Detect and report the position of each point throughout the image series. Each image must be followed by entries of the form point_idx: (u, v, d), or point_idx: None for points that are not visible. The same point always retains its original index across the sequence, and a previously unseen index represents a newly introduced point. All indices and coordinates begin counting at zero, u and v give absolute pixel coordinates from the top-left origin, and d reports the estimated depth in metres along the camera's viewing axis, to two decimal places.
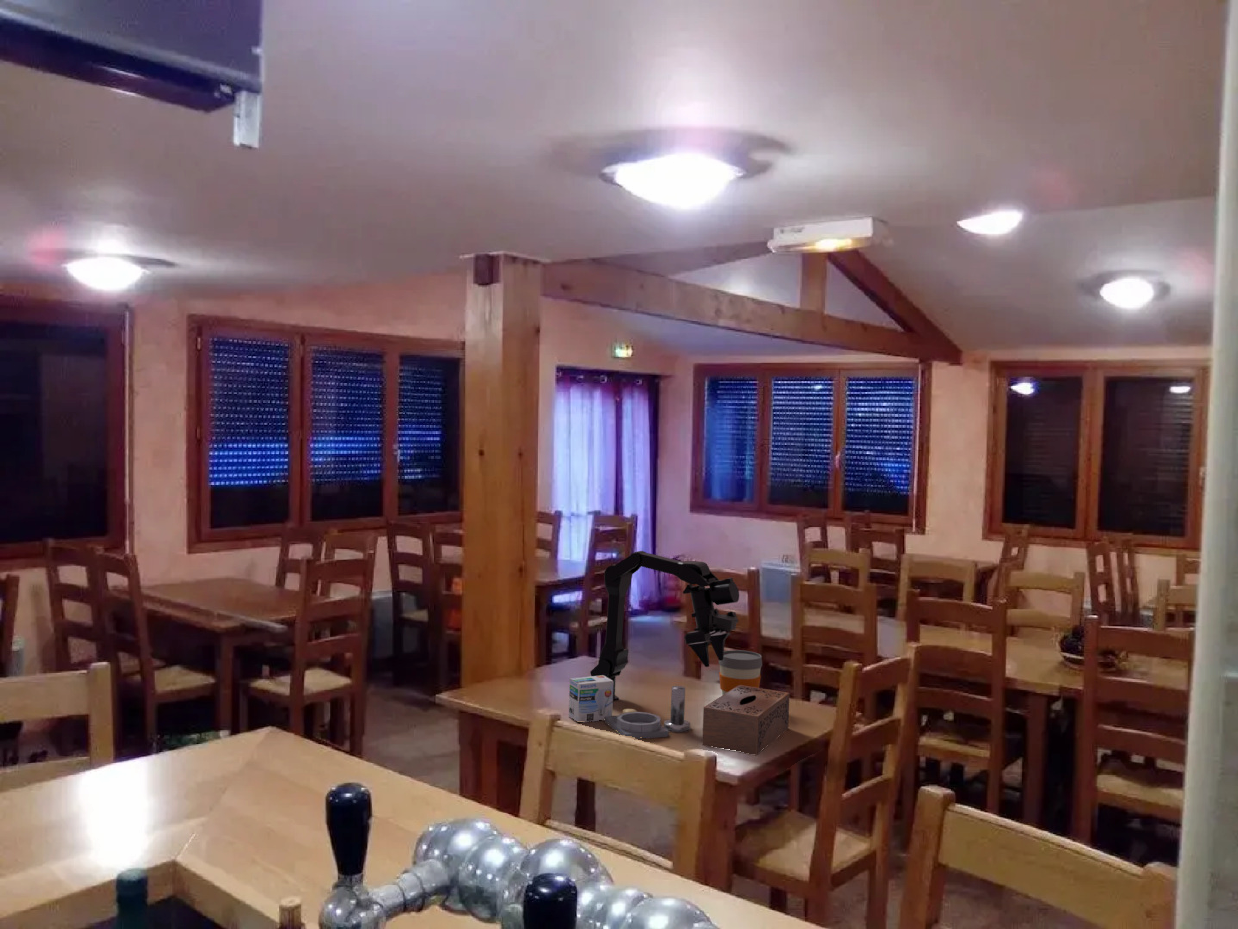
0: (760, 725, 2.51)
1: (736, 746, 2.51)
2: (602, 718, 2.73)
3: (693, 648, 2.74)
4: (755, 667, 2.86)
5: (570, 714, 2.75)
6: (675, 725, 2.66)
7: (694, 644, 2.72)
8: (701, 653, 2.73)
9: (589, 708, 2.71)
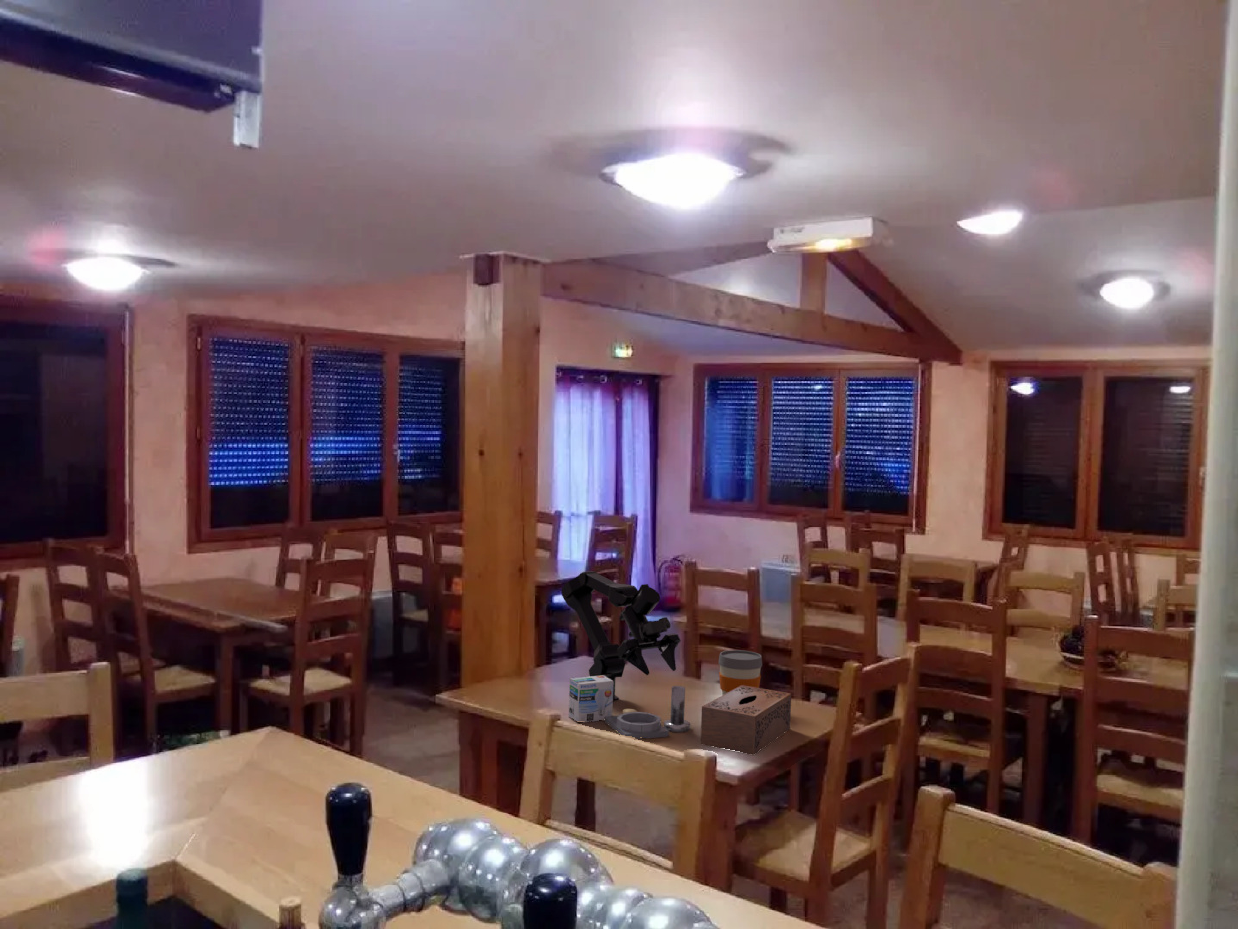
0: (758, 725, 2.51)
1: (733, 746, 2.52)
2: (602, 718, 2.73)
3: (630, 661, 2.75)
4: (755, 667, 2.86)
5: (570, 714, 2.75)
6: (675, 725, 2.66)
7: (626, 656, 2.74)
8: (638, 663, 2.73)
9: (589, 708, 2.71)
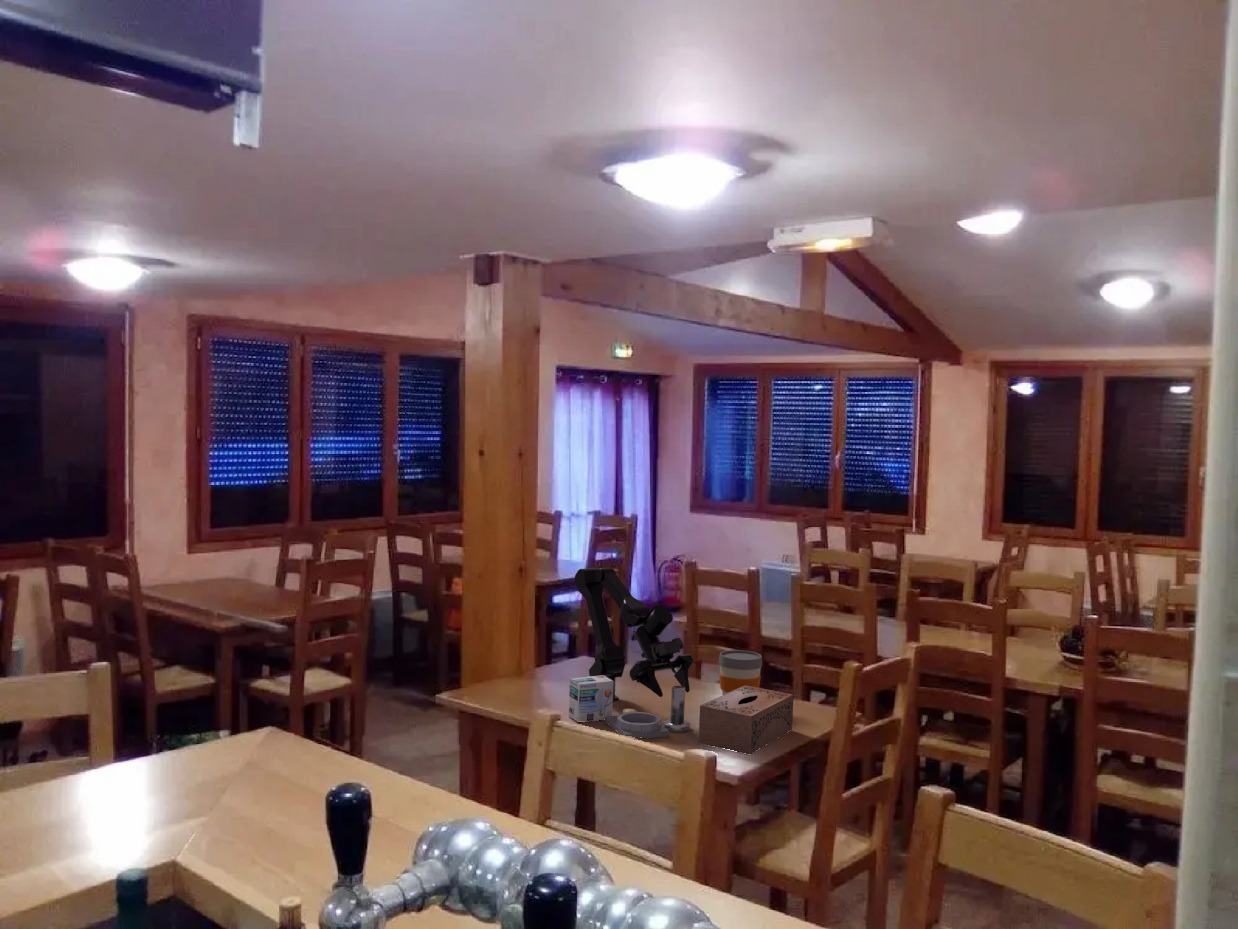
0: (754, 725, 2.51)
1: (730, 745, 2.52)
2: (602, 718, 2.73)
3: (643, 683, 2.70)
4: (755, 667, 2.86)
5: (570, 714, 2.75)
6: (675, 725, 2.66)
7: (639, 677, 2.69)
8: (651, 685, 2.68)
9: (589, 708, 2.71)
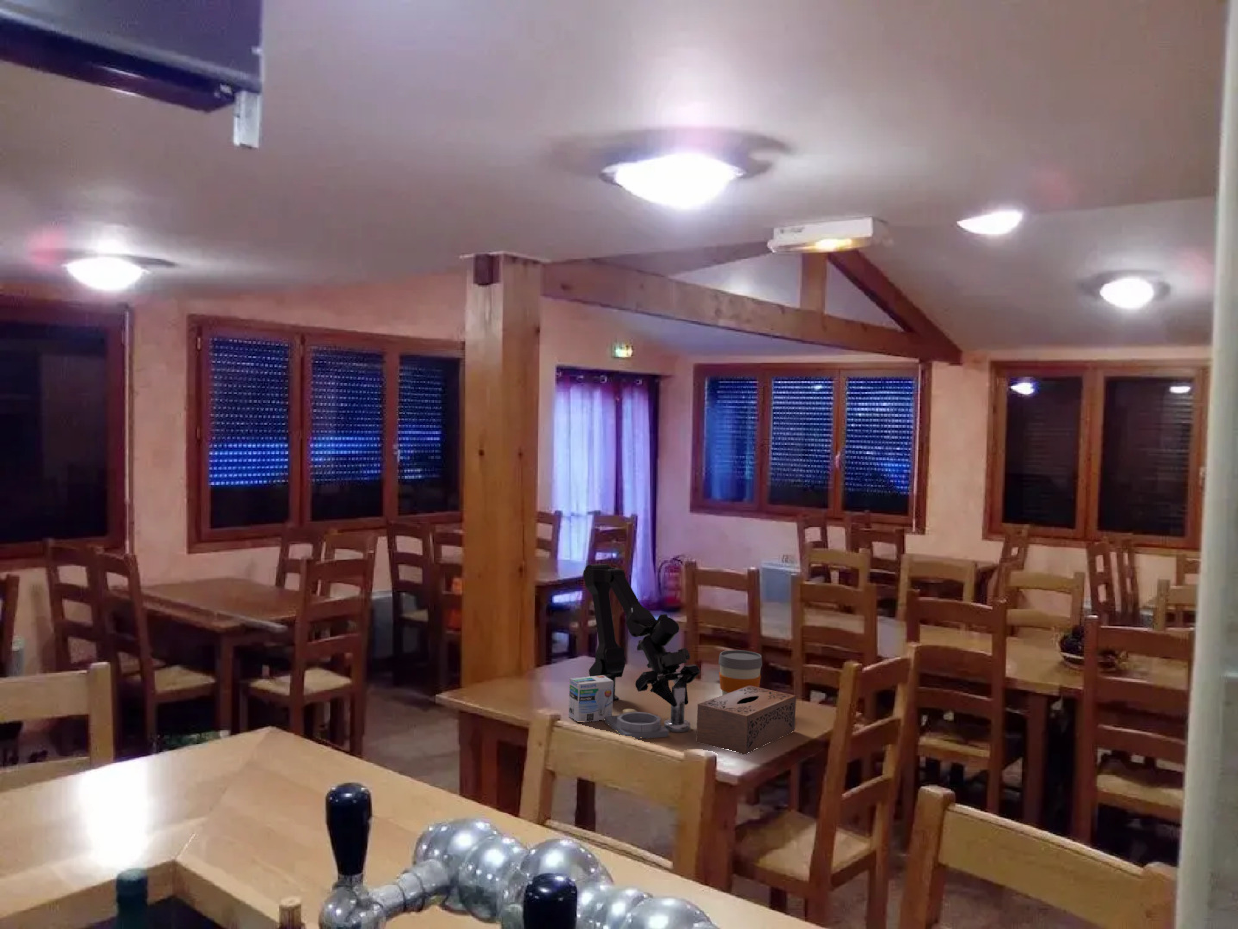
0: (750, 725, 2.51)
1: (726, 745, 2.52)
2: (602, 718, 2.73)
3: (657, 693, 2.69)
4: (755, 667, 2.86)
5: (570, 714, 2.75)
6: (675, 725, 2.66)
7: (653, 687, 2.68)
8: (664, 695, 2.68)
9: (589, 708, 2.71)
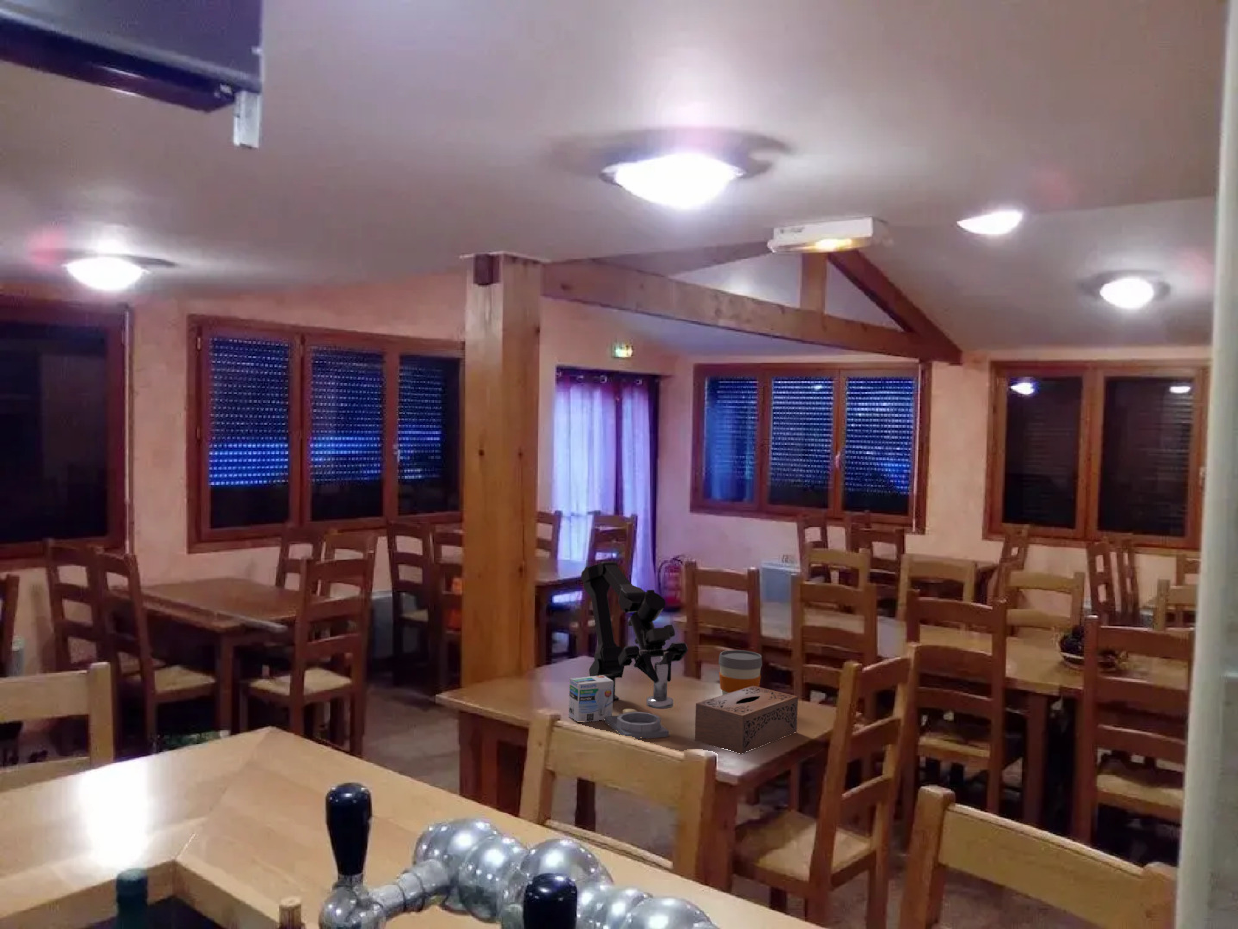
0: (747, 725, 2.51)
1: (723, 744, 2.53)
2: (602, 718, 2.73)
3: (640, 668, 2.68)
4: (755, 667, 2.86)
5: (570, 714, 2.75)
6: (656, 701, 2.64)
7: (636, 662, 2.67)
8: (647, 670, 2.66)
9: (589, 708, 2.71)
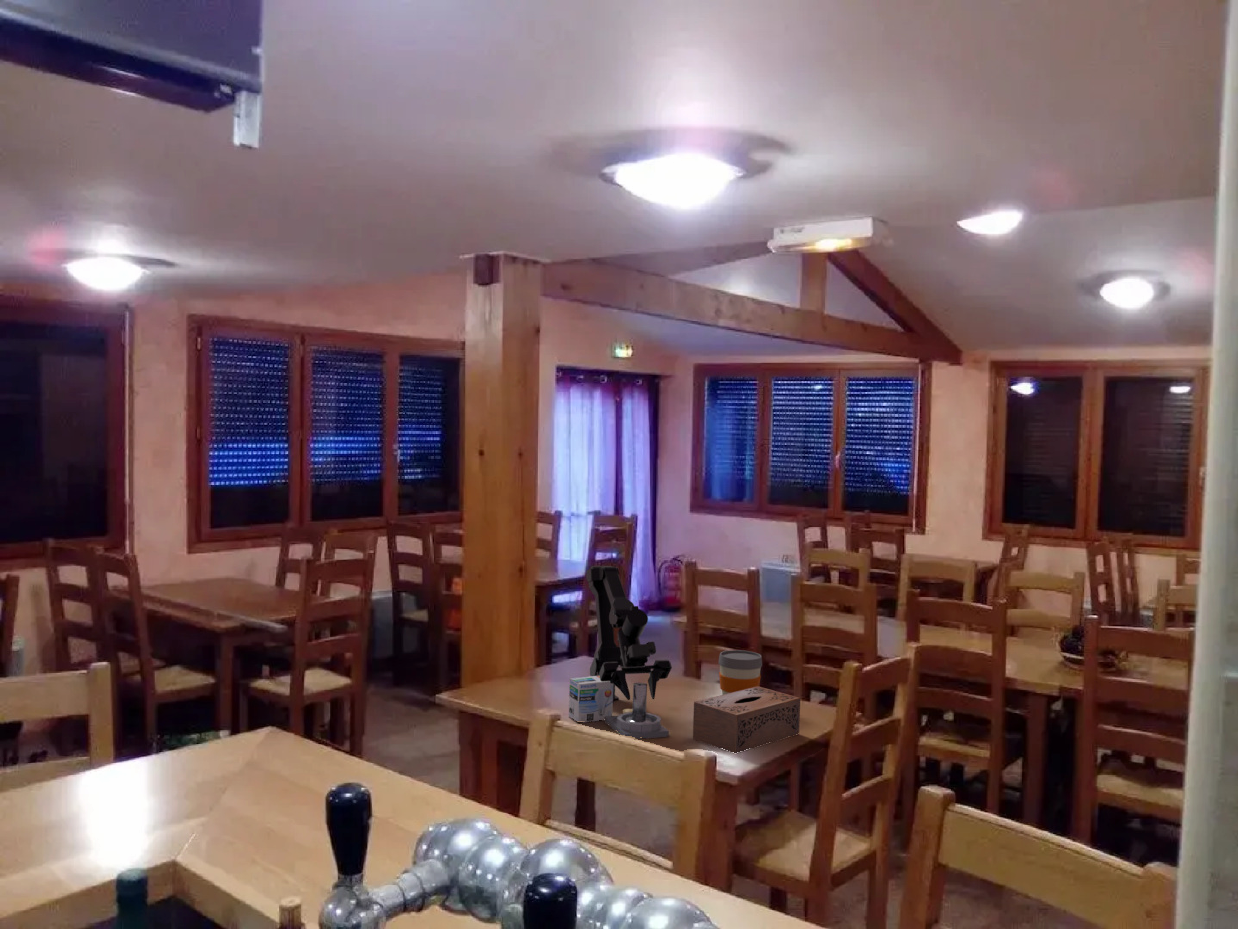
0: (742, 724, 2.51)
1: (719, 743, 2.54)
2: (602, 718, 2.73)
3: (616, 684, 2.67)
4: (755, 667, 2.86)
5: (570, 714, 2.75)
6: (633, 722, 2.63)
7: (611, 678, 2.66)
8: (621, 687, 2.65)
9: (589, 708, 2.71)
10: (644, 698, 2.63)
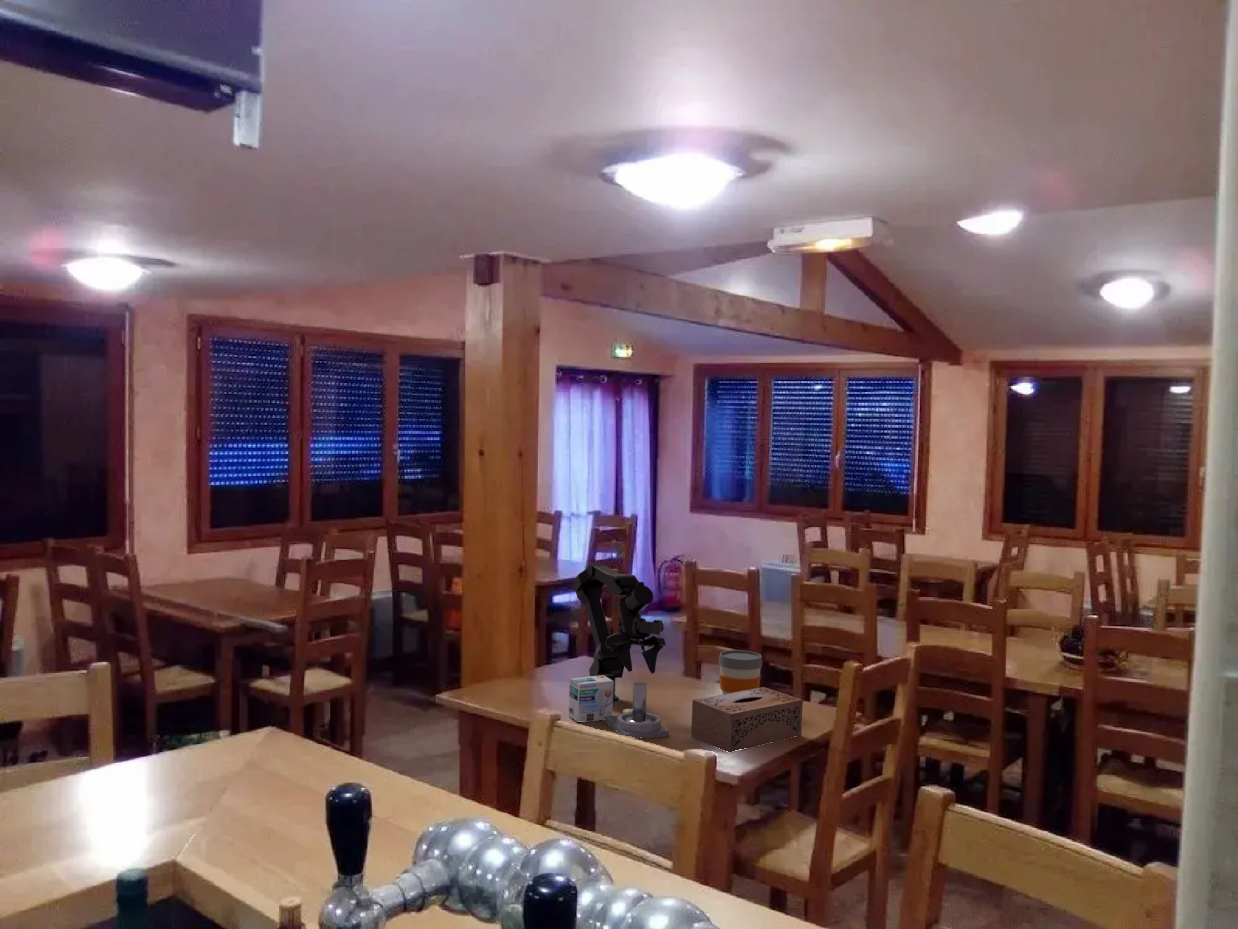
0: (737, 723, 2.51)
1: (715, 742, 2.55)
2: (602, 718, 2.73)
3: (616, 653, 2.73)
4: (755, 667, 2.86)
5: (570, 714, 2.75)
6: (633, 722, 2.63)
7: (614, 647, 2.72)
8: (623, 657, 2.72)
9: (589, 708, 2.71)
10: (644, 698, 2.63)
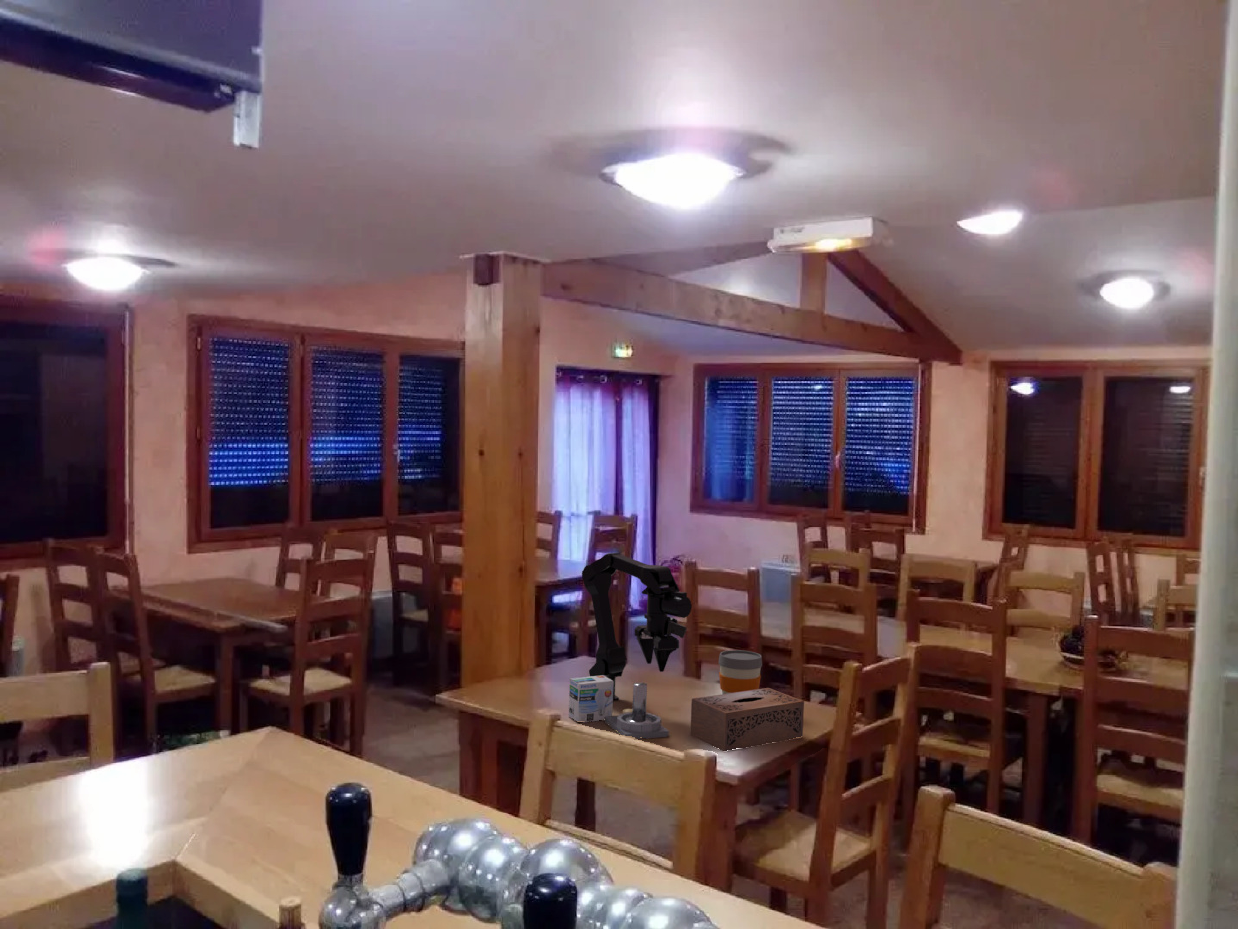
0: (732, 723, 2.52)
1: (711, 740, 2.55)
2: (602, 718, 2.73)
3: (657, 653, 2.74)
4: (755, 667, 2.86)
5: (570, 714, 2.75)
6: (633, 722, 2.63)
7: (664, 649, 2.73)
8: (662, 658, 2.75)
9: (589, 708, 2.71)
10: (644, 698, 2.63)
